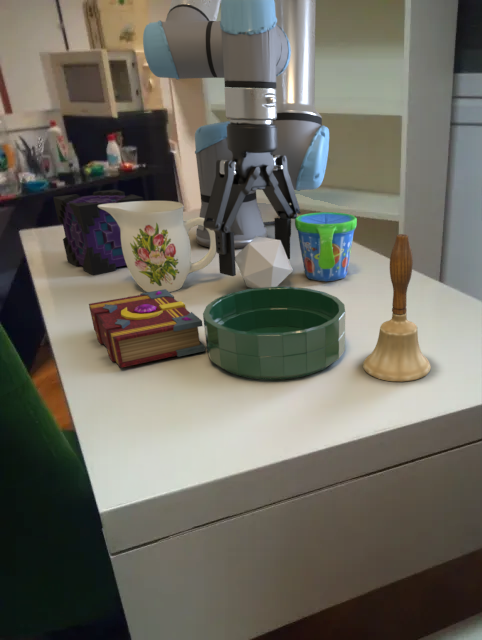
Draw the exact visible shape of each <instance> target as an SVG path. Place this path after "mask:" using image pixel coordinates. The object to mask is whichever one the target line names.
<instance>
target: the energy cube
mask: <svg viewBox="0 0 482 640" xmlns="http://www.w3.org/2000/svg"><path fill="white" fill-rule="evenodd" d="M52 199H53V203H54V207H55V212H56V216H57V221H58V222H59V223H60V224H62V227H63V231H64V236H65V237H63V238H62V242H63V247H64V252H65V256H66V259H67V263H69V264H71V265H73V266H75V267H82V270H83V271H84V272H85V273H88V274H89V275H91V276H97V275H102V274H106V273H111V272H115V271H116V270H117V268H118V267H124V266H127V265H126V262H125V259H124V255H123V251H122V245H121V230H120V227H119V225H118V224H117V222H116V220H115V219H114V218H113V217H112V216H111V214H109V213H108V212H106V211H105V210H102V209H100V208H99V207H98V205H100V204H108V203H122V202H133V201H144V197H143V196H140V195H135V194H128V195H126V194H125V191H122V190H119V189H107V190H99V191H98V190H97V191H93V192H92V195H83V196H80V195H79V194H76V193H73V194H66V195H60V196H59V195H58V196H53V198H52Z"/></svg>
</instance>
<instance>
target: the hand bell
mask: <svg viewBox="0 0 482 640" xmlns="http://www.w3.org/2000/svg"><path fill="white" fill-rule="evenodd" d="M413 265H414V257H413V251H412V247H411V244H410V240H409V235H408V234H406V233H399V234H397V235H396V236H395V241H394V244H393V247H392V249H391V252H390V257H389V275H390V276H389V277H390V282H391V285H392V292H393V293H392V308H391V312H392V313H391V318H390V319H389V320H386V321H384V322H383V323H381V324H380V326H379V331H378V332H379V333H378V336H377V337H378V338H377V341H376V344H375V348H373V350H372V352H371V353H370V354H368V355H367V357H366V358H365V359H364V361H363V362H362V367H363V371H364V372H365V373H366V374H368V375H369V376H371V377H372V378H377V379H378V380H382V381H388V382H401V383H402V382H410V381H417V380H420V379H422V378H424V377H425V376H427V375H428V374H429V373H430V372H431V368H432V366H431V363H430V361H429V360H428V358H427V357H426V356H425V355H424V354H423V352H422V350H421V347H420V342H419V332H418V326H417V324H416V323H414V322H412V321H411V320H408V317H407V296H408V295H407V294H408V288H409V284H410V281H411V279H412V276H413V275H412V274H413Z"/></svg>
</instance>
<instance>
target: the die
mask: <svg viewBox="0 0 482 640" xmlns="http://www.w3.org/2000/svg"><path fill="white" fill-rule="evenodd" d="M235 264H236V265H237V268H238V270H239V272H240V274H241V276H242V279H243V281H244V283H245V285H246V287H247V288H248V289H255V288H264V287H279V286H280V285H281V284H282V282H283V281H284V280H285V279H287V277H288V276H290V274H291V273H292V272H294V270H293V268H292V265H291V263H290V259H288V257H287V255H286V253H285V250H284V248H283V245H282V243H281V240H277V239H275V238H272V237H271V238H270V237H267V238H266V237H260V236H256V237H255V238H254V239H253V240H252V241H251V242H250V243H249V244H248V245H247V246H246V247H244V248H242V250H241V251H240V252H239V251H238V253H237V254H235Z"/></svg>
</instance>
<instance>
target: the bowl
mask: <svg viewBox="0 0 482 640" xmlns="http://www.w3.org/2000/svg"><path fill="white" fill-rule="evenodd" d="M202 318H203V327H204V336H205V344H206V345H205V346H206V352H207V355H208V357H209V359H210V361H211V362H212V363H213V364H215V365H217V366H218V367H219V368H221V369H223V370H224V371H226V372H228V373H230V374H232V375H236V376H239V377H242V378H243V377H244V378H246V379H254V380H266V381H268V380H269V381H278V380H279V381H280V380H289V379H296V378H302V377H305V376H309V375H313V374H316V373H318V372H320V371H323V370H325V369H327V368H328V367H329V366H331V365H332V364H333V363H335V362H336V361H338V360H339V359H340V358H341V357H342V355H343V354H344V352H345V351H346V350H345V349H346V307H345V303H343V302H342V300H340V299H339V298H338V297H336V296H334V295H332V294H330V293H328V292H326V291H321V290H317V289H311V288H305V287H295V286H277V287H264V288H255V289H254V288H247V289H243V290H238V291H234V292H231V293H228V294H225V295H223V296H220V297H217V298H215V299H214V300H212V301H211V302H210V303H208V304H207V305H206V306H205V308H204V310H203V311H202Z"/></svg>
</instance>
